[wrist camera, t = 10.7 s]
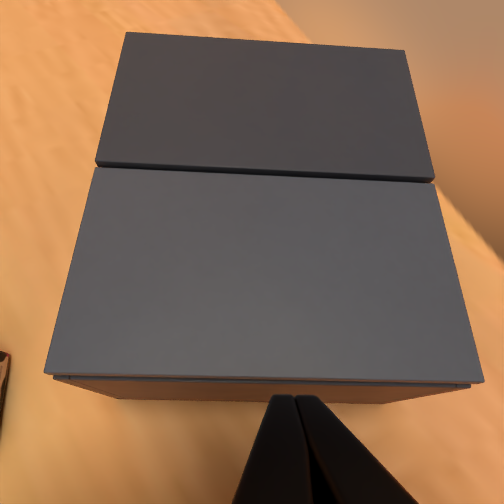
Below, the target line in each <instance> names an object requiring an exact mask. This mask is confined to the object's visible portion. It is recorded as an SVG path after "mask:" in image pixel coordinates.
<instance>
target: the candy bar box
mask: <svg viewBox="0 0 504 504" xmlns="http://www.w3.org/2000/svg"><path fill="white" fill-rule="evenodd" d="M8 365H9V354H8V353H5V352H2V351H0V412H1V406H2V401H3V397H4V389H5V385H6V380H7V374H8Z"/></svg>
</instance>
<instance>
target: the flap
mask: <svg viewBox="0 0 504 504" xmlns="http://www.w3.org/2000/svg"><path fill="white" fill-rule="evenodd" d="M44 373H46V374H48V375H79V376H125V377H172V378H219V379H266V380H313V381H359V382H406V383H453V384H479V383H483V382H485V380H484V376H483V373H482V369H481V365H480V361H479V357H478V353H477V349H476V345H475V341H474V337H473V333H472V330H471V326H470V322H469V318H468V314H467V310H466V306H465V302H464V298H463V294H462V290H461V287H460V283H459V279H458V275H457V271H456V267H455V263H454V259H453V255H452V251H451V247H450V244H449V240H448V236H447V232H446V228H445V224H444V220H443V216H442V212H441V208H440V204H439V201H438V197H437V193H436V189H435V185H434V184H432V183H411V182H391V181H370V180H349V179H329V178H308V177H288V176H267V175H246V174H226V173H205V172H185V171H164V170H143V169H123V168H102V167H95V170H94V174H93V178H92V182H91V186H90V190H89V194H88V198H87V202H86V206H85V210H84V213H83V217H82V221H81V225H80V229H79V233H78V237H77V241H76V245H75V249H74V253H73V257H72V261H71V265H70V269H69V273H68V277H67V281H66V285H65V289H64V293H63V296H62V300H61V304H60V308H59V312H58V316H57V320H56V324H55V328H54V332H53V336H52V340H51V344H50V348H49V352H48V356H47V360H46V364H45V368H44Z"/></svg>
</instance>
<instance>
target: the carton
mask: <svg viewBox="0 0 504 504" xmlns="http://www.w3.org/2000/svg"><path fill="white" fill-rule="evenodd" d="M95 162H96V164H97V166H98V167H102V168H123V169H143V170H164V171H185V172H205V173H226V174H246V175H267V176H288V177H308V178H329V179H349V180H370V181H391V182H411V183H431V182H432V181H433V179H434V178H435V175H434V170H433V166H432V162H431V158H430V154H429V150H428V145H427V141H426V137H425V133H424V129H423V125H422V121H421V117H420V112H419V108H418V104H417V100H416V97H415V92H414V88H413V84H412V79H411V75H410V71H409V67H408V63H407V59H406V55H405V51H404V50H393V49H378V48H362V47H347V46H333V45H318V44H303V43H288V42H273V41H258V40H243V39H228V38H213V37H198V36H182V35H167V34H152V33H137V32H126V35H125V39H124V43H123V47H122V51H121V55H120V59H119V63H118V67H117V72H116V76H115V80H114V84H113V88H112V92H111V96H110V100H109V104H108V109H107V113H106V117H105V121H104V125H103V129H102V133H101V137H100V141H99V145H98V150H97V154H96V158H95ZM53 379H54V380H57V381H61V382H64V383H67V384H70V385H74V386H77V387H80V388H83V389H87V390H90V391H93V392H97V393H100V394H103V395H106V396H110V397H113V398H116V399H143V400H197V401H251V402H269V401H270V398H271V396H272V395H274V394H290V395H292V396H294V397H295V396H296V395H315V396H317V397H318V398H319V399H320V400H321V401H322V402H323V403H360V404H385V403H390V402H396V401H401V400H407V399H413V398H418V397H424V396H429V395H435V394H440V393H446V392H451V391H457V390H462V389H468V388H471V384H453V383H406V382H359V381H313V380H266V379H219V378H172V377H125V376H79V375H53Z"/></svg>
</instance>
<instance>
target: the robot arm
mask: <svg viewBox="0 0 504 504" xmlns="http://www.w3.org/2000/svg"><path fill="white" fill-rule="evenodd" d="M231 504H419V503H418V502H417V501H416V500H415V499H414V498H413V497H412V496H411V495H410V494H409V493H408V492H407V491H406V490H405V489H404V487H403V486H402V485H401V484H400V483H399V482H398V481H397V480H396V479H395V478H394V477H393V476H392V475H391V474H390V473H389V472H388V471H387V470H386V468H385V467H384V466H383V465H382V464H381V463H380V462H379V461H378V460H377V459H376V458H375V457H374V456H373V455H372V454H371V453H370V452H369V450H368V449H367V448H366V447H365V446H364V445H363V444H362V443H361V442H360V441H359V440H358V439H357V438H356V437H355V436H354V435H353V434H352V432H351V431H350V430H349V429H348V428H347V427H346V426H345V425H344V424H343V423H342V422H341V421H340V420H339V419H338V418H337V417H336V416H335V415H334V413H333V412H332V411H331V410H330V409H329V408H328V407H327V406H326V405H325V404H324V403H323V402H322V401H321V400H320V399H319V398H318V397H317V396H315V395H296V396H295V397H294V396H292V395H290V394H274V395H272V396H271V398H270V401H269V404H268V406H267V409H266V412H265V415H264V417H263V420H262V423H261V425H260V428H259V431H258V433H257V436H256V439H255V441H254V444H253V447H252V449H251V452H250V455H249V457H248V460H247V463H246V466H245V468H244V471H243V474H242V476H241V479H240V482H239V484H238V487H237V490H236V492H235V495H234V498H233V500H232V503H231Z"/></svg>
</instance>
